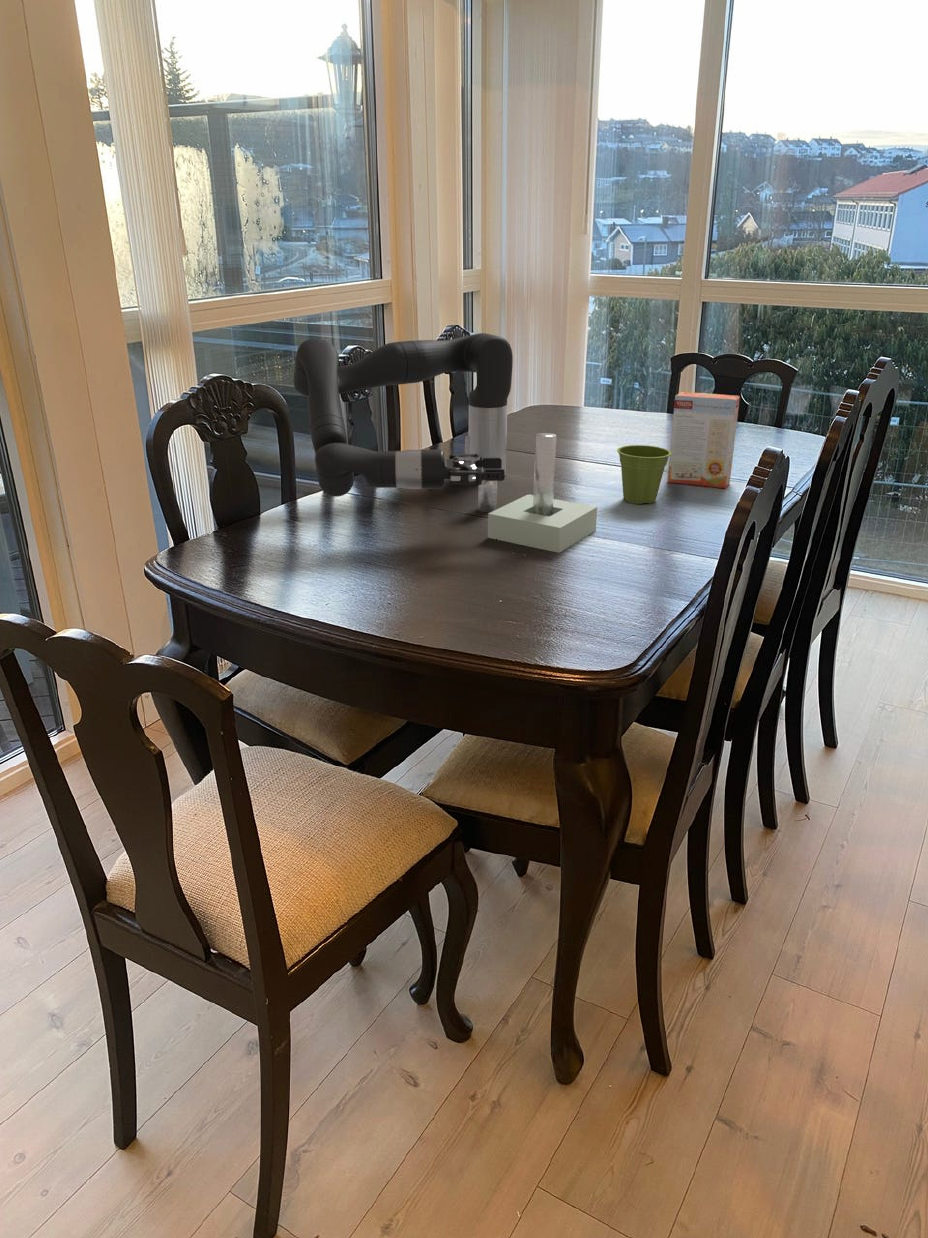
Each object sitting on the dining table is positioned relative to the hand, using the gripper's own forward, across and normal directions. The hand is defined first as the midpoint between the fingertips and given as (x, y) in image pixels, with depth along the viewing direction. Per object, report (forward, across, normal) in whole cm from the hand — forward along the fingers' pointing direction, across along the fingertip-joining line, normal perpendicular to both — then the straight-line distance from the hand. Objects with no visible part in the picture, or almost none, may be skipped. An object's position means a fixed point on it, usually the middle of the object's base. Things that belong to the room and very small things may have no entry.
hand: (502, 468), depth 176 cm
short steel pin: (-2, +17, +14) cm, 22 cm away
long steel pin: (+8, 0, +14) cm, 16 cm away
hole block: (+8, 0, +14) cm, 16 cm away
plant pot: (+33, +23, +14) cm, 42 cm away
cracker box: (+50, +37, +14) cm, 63 cm away
